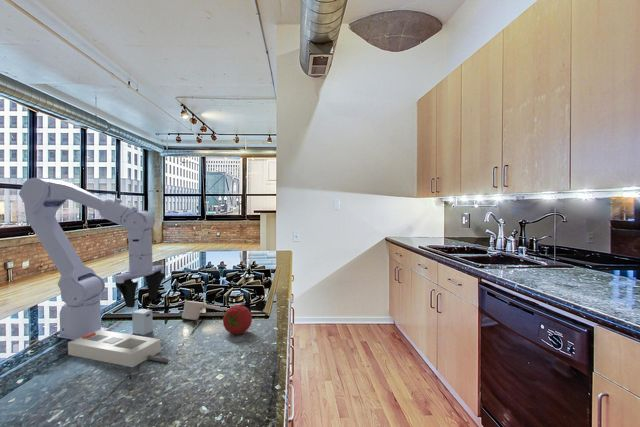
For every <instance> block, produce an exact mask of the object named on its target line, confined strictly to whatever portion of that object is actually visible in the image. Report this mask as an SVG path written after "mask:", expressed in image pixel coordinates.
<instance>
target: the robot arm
mask: <svg viewBox="0 0 640 427" xmlns="http://www.w3.org/2000/svg"><path fill="white" fill-rule="evenodd" d="M18 196H20V198H21V200H22V202H23V206H24V213H25V219H26V221H27V222H28V223H29V225H30V227H31V229H32V230H33V232H34V233H35V235H36V236H37V238H38V240H39V242H40V244H41V245H42V247H43V248H44V250H45V251H46V253H47V255H48V256H49V258H50V260H51V261H52V263H53V265H54V266H55V267H56V270H57V271H58V272H59V274H60V278H59V280H58V282H57V286H58V287H59V291H60V298H61V300H62V301H63V303H64V305H63V306H61V308H60V311H59V330H60V331H59V333H58V334H57V335H56V337H57V338H61V339H67V340H71V341H73V340H75V339H78V338H80V337H82V336H83V335H85V334H88V333H90V332H95V331H98V330H105V331H109V330H110V328H109V327H104V326H103V327H102V320H101V319H102V315H101V294H102V293H103V292H104V291H105V288H106V284H105V281H104V279H103V278H102V277H101V276H100V275H98V274H97V273H96V272H95V271H94V269H93V268H91V267H88V265H87V266H86V265H84V263H83V261H82V259H81V258H80V256H79V255H78V253H77V251H76V249H75V248H74V246H73V245H72V243H71V241H70V240H69V238H68V236H67V235H66V233H65V231H64V230H63V228H62V227H61V225H60V223H59V222H58V220H57V219H56V217H55V216H56V214H57V212H58V211H59V209H60V208H61V207H62V206H63V205H64V204H65V203H66V202H67V201H69V200H70V201H72V202H74V203H78V204H80V205H83V206H85V207H87V208H91V209H93V210H96V211H98V214H99V216H100V217H101V218H103V219H106V220H107V221H110V222H113V223H115V224H117V225H118V226H122V227H124V229H125V230H126V231H127V233H128V266H129V267H128V268H129V270H127V271H125V272H122V273H120V274H116V275H114V281H115V286H116V287H117V289H118V290H119V292H120V293H121V295H122V297H123V300H124V302H125V307H126V308H135V305H136V291H137V286H138V285H139V284H138V282H137V281H133V280H136V279H139V278H143V277H145V280H146V285H147V292H148V298H149V299H150V300H156V299H157V297H158V295H159V289H160V286H161V284H162V282H163V281H164V278H165V275H166V274H165V273H164V272H165V265H163V264H158V265H157V264H156V265H153V236H152V235H153V234H152V232H153V231H152V228H153V227H154V226H155V222H156V220H155V217H154V215H153V213H150V212H149V211H148V210H140V211H139V207H138V206H131V205H128V204H126V203H124V202H123V199H120V198H118V197H117V198H108V199H104V198H102V197H100V196H99V195H98V196H97V195H95V194H93V193H92V192H89V191H88V190H85V189H83V188H81V187H79V186H77V185H75V184H73V183H71V182H66V181H64V180H61V179H45V178H39V177H32V178H28V179H27V180H25V181H24V182H23V184H22V186H21V188H20V191H19V192H18Z"/></svg>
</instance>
